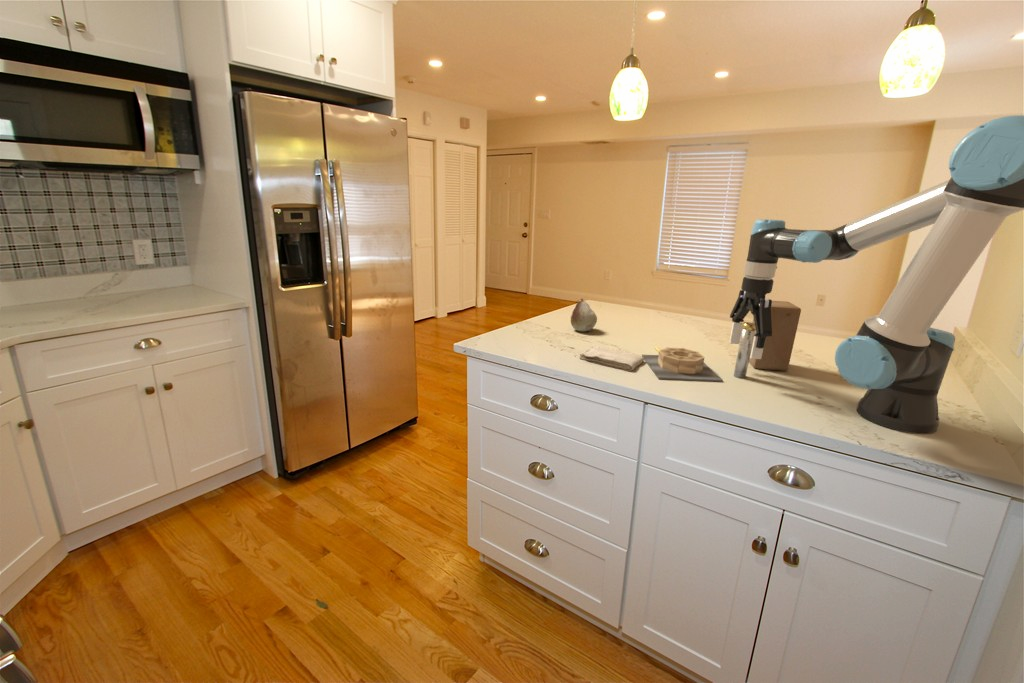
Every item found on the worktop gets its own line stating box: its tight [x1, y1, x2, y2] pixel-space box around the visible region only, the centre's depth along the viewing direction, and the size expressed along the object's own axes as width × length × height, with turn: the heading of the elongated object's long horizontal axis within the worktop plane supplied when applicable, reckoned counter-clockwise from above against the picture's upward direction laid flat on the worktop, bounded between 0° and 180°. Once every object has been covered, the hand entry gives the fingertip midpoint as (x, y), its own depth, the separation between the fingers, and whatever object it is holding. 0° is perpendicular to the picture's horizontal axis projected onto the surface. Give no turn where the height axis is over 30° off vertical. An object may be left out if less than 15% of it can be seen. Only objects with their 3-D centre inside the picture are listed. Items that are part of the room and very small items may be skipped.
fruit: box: [570, 298, 598, 333], centre depth 175 cm, size 10×9×12 cm
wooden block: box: [748, 300, 802, 372], centre depth 142 cm, size 10×10×20 cm
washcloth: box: [578, 345, 645, 372], centre depth 144 cm, size 12×18×3 cm, turn 56°
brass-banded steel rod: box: [733, 321, 755, 379], centre depth 132 cm, size 3×3×16 cm
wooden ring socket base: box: [641, 347, 724, 383], centre depth 139 cm, size 20×18×5 cm
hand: (744, 350), depth 132 cm, fingers open, 13 cm apart
